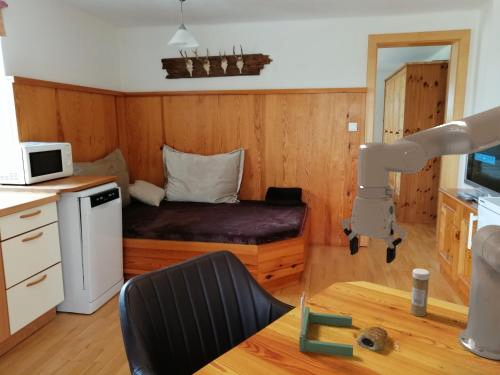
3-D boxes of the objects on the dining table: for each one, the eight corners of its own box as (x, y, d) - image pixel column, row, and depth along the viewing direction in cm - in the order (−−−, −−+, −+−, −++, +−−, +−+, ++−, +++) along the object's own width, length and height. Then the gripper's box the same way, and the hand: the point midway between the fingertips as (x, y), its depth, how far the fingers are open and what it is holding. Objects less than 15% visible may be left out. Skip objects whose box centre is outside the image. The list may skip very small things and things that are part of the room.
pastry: (369, 330, 108) (370, 317, 108) (393, 339, 104) (394, 326, 103) (354, 345, 101) (355, 331, 101) (379, 355, 97) (380, 341, 96)
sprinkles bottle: (429, 314, 116) (433, 271, 113) (420, 318, 113) (423, 275, 111) (415, 308, 120) (418, 266, 117) (406, 312, 117) (409, 270, 115)
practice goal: (351, 324, 111) (353, 278, 108) (352, 357, 96) (354, 305, 93) (305, 319, 114) (305, 274, 112) (299, 351, 99) (299, 300, 96)
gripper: (414, 193, 94) (411, 260, 97) (348, 186, 105) (348, 247, 108) (402, 199, 88) (399, 270, 92) (334, 191, 100) (334, 254, 103)
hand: (371, 257), depth 100 cm, fingers open, 9 cm apart
